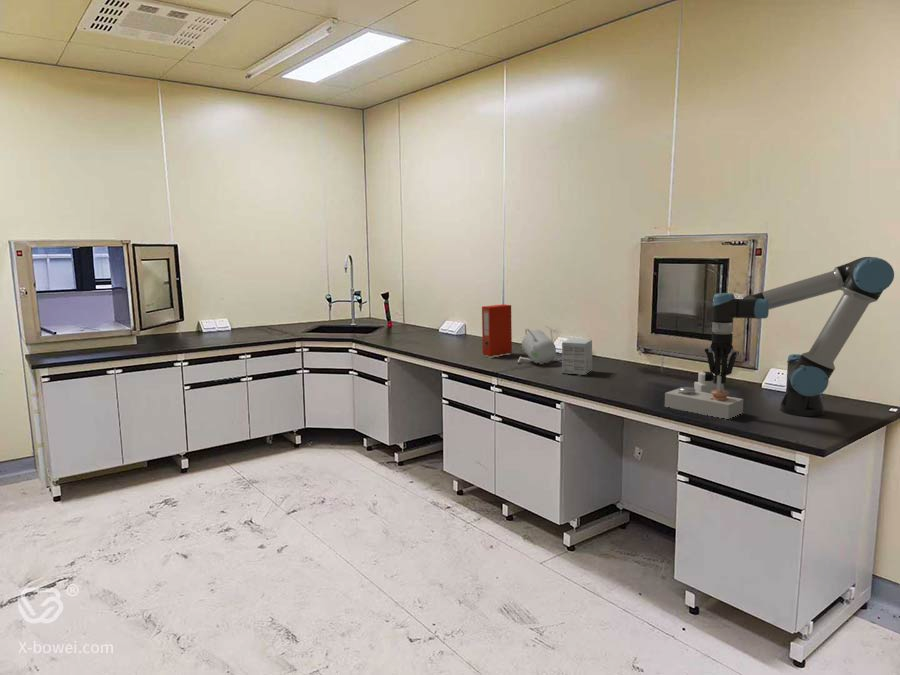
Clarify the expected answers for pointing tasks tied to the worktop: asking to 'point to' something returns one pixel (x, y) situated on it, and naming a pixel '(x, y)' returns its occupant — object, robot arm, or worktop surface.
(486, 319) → the file binder
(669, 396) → the block
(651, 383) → the worktop surface
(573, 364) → the supplement box
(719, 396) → the terracotta plug
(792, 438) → the worktop surface
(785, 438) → the worktop surface
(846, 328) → the robot arm
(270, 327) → the worktop surface
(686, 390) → the metal plug
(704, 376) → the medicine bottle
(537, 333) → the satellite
